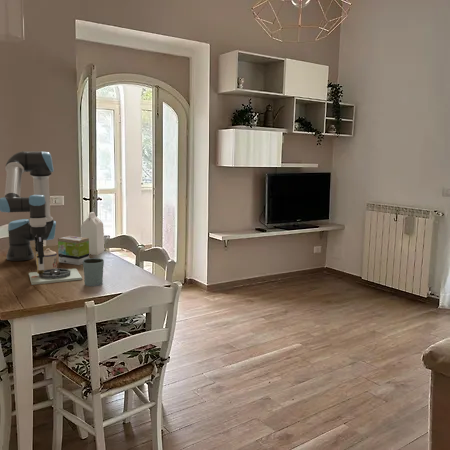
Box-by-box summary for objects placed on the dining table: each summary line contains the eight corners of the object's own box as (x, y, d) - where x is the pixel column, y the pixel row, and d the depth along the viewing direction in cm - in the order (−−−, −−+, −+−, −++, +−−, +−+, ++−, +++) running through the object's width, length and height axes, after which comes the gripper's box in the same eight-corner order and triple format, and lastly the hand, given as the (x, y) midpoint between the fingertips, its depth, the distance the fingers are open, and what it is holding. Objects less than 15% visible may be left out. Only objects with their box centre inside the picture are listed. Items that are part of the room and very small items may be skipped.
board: (28, 274, 247) (28, 272, 247) (76, 270, 258) (75, 268, 258) (31, 284, 230) (31, 282, 229) (82, 279, 240) (82, 277, 240)
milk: (88, 250, 310) (87, 211, 306) (104, 250, 309) (104, 211, 304) (80, 254, 298) (79, 213, 294) (97, 254, 297) (96, 214, 293)
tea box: (58, 262, 275) (57, 238, 272) (69, 259, 284) (68, 235, 282) (78, 265, 269) (78, 240, 267) (90, 261, 278) (89, 237, 276)
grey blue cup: (96, 280, 240) (95, 257, 238) (108, 283, 234) (108, 260, 232) (79, 284, 232) (78, 260, 230) (91, 288, 226) (90, 263, 224)
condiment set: (56, 270, 257) (56, 250, 255) (39, 271, 254) (38, 250, 252) (58, 265, 268) (57, 245, 266) (41, 266, 266) (40, 246, 264)
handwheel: (71, 270, 253) (70, 249, 251) (69, 277, 238) (68, 256, 236) (39, 271, 249) (38, 250, 247) (35, 279, 234) (34, 257, 232)
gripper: (48, 229, 227) (50, 271, 230) (43, 221, 249) (45, 260, 252) (32, 230, 224) (34, 273, 227) (28, 222, 246) (30, 262, 249)
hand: (40, 266), depth 240 cm, fingers open, 13 cm apart
